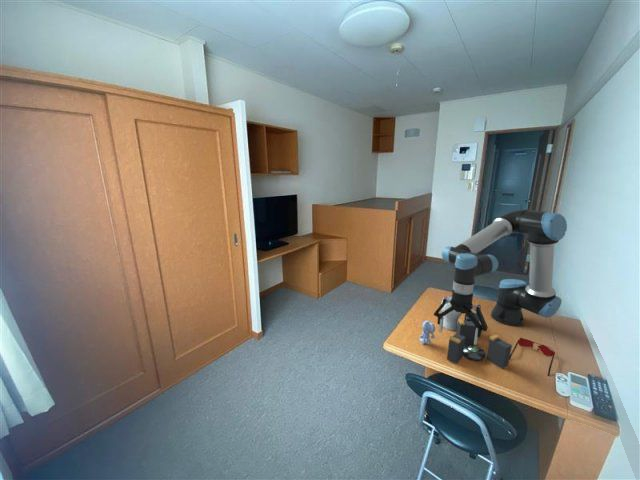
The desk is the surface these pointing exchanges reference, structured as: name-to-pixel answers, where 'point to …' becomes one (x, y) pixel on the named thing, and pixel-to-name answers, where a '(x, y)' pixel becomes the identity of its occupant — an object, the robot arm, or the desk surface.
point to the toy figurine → (427, 332)
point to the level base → (473, 352)
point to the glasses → (543, 348)
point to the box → (469, 318)
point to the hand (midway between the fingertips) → (457, 336)
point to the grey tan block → (466, 330)
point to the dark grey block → (456, 348)
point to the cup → (450, 317)
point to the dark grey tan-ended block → (498, 351)
